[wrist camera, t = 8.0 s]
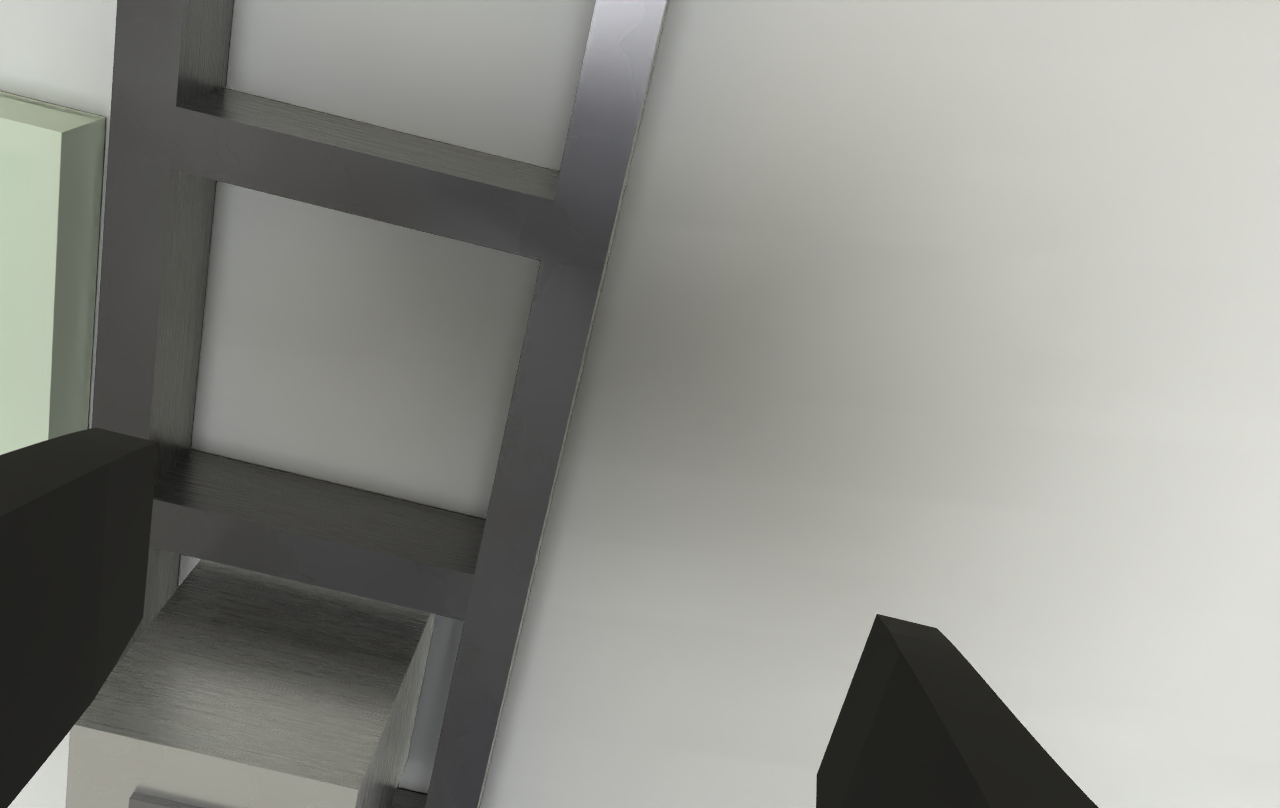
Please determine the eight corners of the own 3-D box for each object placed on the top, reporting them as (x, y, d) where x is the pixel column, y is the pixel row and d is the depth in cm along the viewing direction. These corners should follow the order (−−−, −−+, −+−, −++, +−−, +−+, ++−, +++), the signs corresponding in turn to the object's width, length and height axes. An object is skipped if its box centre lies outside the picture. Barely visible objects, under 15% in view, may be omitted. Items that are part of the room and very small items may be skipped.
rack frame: (471, 841, 26) (452, 912, 25) (114, 759, 26) (68, 824, 24) (731, -264, 18) (732, -283, 16) (204, -403, 18) (143, -440, 16)
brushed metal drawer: (407, 759, 26) (318, 1001, 20) (201, 712, 26) (53, 942, 20) (441, 585, 24) (355, 797, 18) (221, 533, 24) (65, 729, 18)
